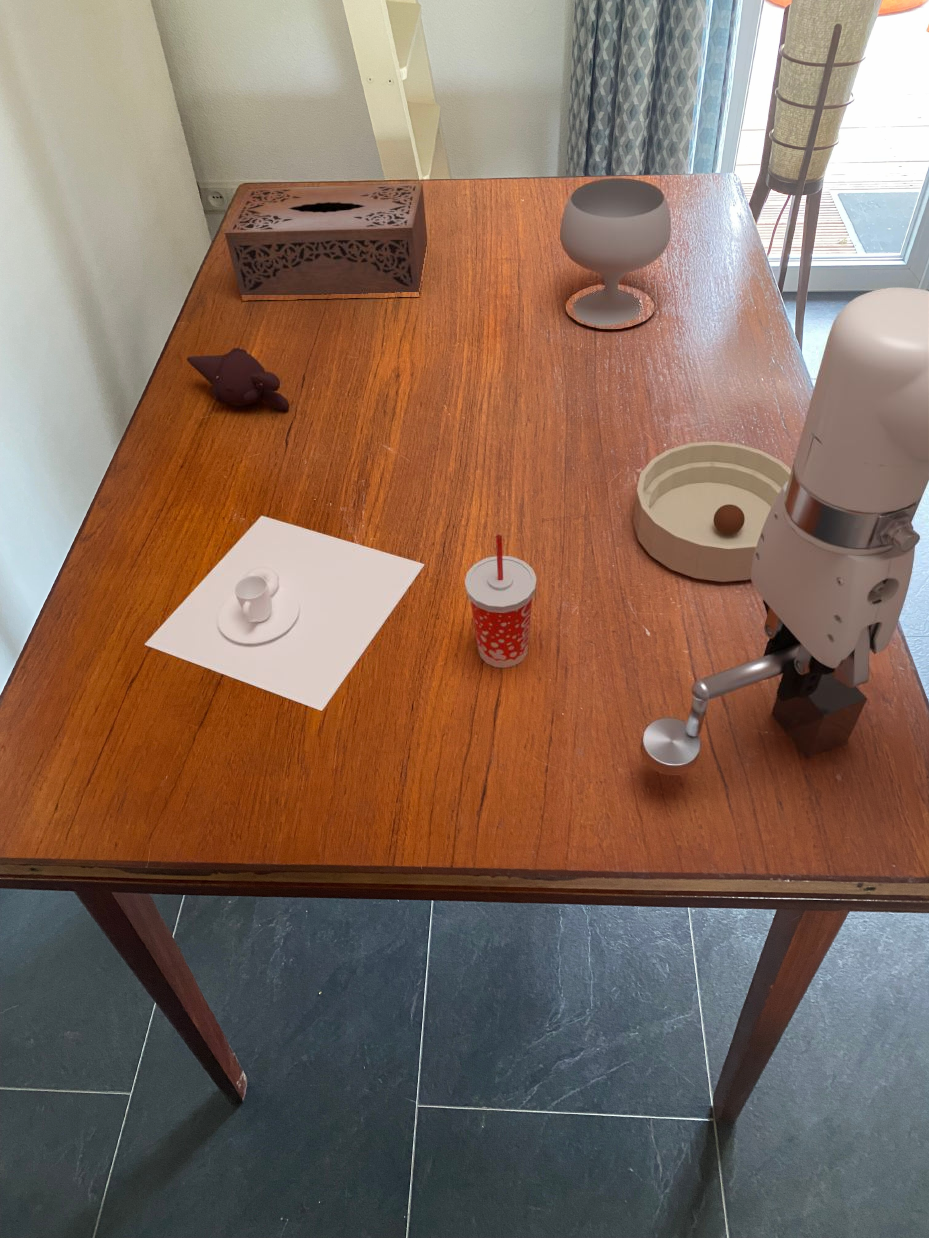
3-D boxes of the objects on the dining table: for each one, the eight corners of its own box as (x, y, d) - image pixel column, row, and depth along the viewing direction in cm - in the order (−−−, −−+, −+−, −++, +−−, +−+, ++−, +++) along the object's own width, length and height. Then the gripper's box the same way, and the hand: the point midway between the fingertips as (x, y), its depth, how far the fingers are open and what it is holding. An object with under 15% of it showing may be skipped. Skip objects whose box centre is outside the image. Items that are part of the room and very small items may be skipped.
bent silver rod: (822, 667, 75) (847, 605, 69) (856, 707, 72) (885, 645, 66) (630, 738, 71) (639, 678, 65) (658, 783, 68) (670, 725, 62)
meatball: (749, 522, 89) (748, 533, 91) (739, 495, 90) (739, 507, 92) (718, 531, 89) (718, 542, 92) (709, 505, 90) (710, 516, 93)
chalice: (675, 329, 119) (689, 214, 108) (570, 342, 118) (574, 228, 107) (646, 278, 129) (656, 168, 117) (549, 290, 128) (550, 181, 117)
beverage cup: (506, 685, 81) (502, 574, 70) (456, 651, 84) (445, 540, 73) (550, 645, 84) (552, 533, 73) (500, 614, 87) (495, 502, 76)
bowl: (738, 463, 100) (745, 426, 96) (829, 556, 89) (842, 518, 86) (606, 504, 96) (609, 467, 93) (685, 605, 86) (691, 568, 82)
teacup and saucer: (253, 572, 92) (244, 543, 89) (319, 594, 90) (312, 564, 87) (201, 632, 87) (190, 603, 84) (270, 656, 85) (261, 627, 82)
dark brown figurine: (158, 359, 109) (257, 399, 105) (195, 317, 112) (293, 354, 107) (180, 398, 115) (275, 437, 111) (214, 357, 118) (308, 394, 113)
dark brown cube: (810, 698, 78) (827, 653, 74) (847, 742, 75) (867, 698, 70) (771, 713, 77) (785, 669, 73) (806, 759, 74) (823, 715, 70)
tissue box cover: (242, 301, 131) (224, 233, 123) (263, 254, 140) (248, 188, 133) (419, 297, 129) (412, 228, 121) (428, 250, 138) (422, 182, 131)
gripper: (994, 560, 51) (895, 744, 65) (823, 412, 61) (769, 599, 75) (883, 599, 50) (806, 780, 63) (727, 441, 60) (689, 626, 73)
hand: (786, 681), depth 69 cm, fingers closed on bent silver rod
